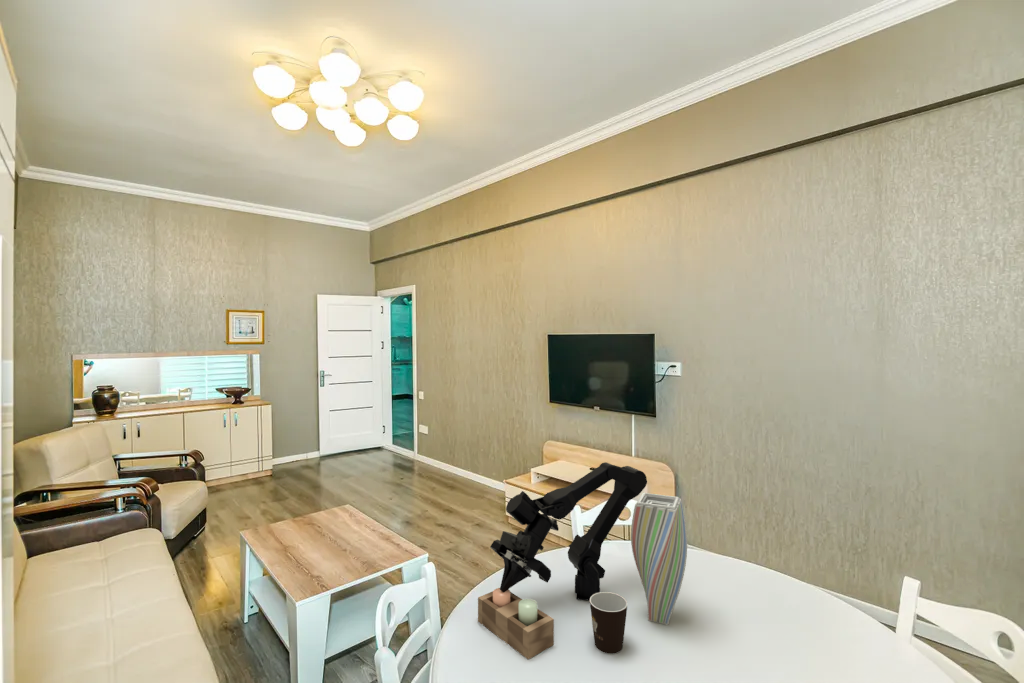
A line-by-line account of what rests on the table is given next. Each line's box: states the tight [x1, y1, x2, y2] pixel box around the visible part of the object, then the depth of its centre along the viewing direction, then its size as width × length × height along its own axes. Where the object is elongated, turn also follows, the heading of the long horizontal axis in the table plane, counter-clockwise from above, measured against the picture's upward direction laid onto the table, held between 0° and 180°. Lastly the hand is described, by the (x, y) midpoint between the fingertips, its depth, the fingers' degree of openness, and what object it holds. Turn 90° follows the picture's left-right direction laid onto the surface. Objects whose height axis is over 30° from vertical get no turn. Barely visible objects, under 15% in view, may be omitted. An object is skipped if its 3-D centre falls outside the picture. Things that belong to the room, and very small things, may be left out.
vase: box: [630, 492, 688, 626], centre depth 120 cm, size 14×14×30 cm
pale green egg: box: [519, 598, 538, 626], centre depth 110 cm, size 4×4×5 cm
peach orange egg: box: [492, 587, 511, 608], centre depth 118 cm, size 4×4×5 cm
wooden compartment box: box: [477, 590, 555, 660], centre depth 114 cm, size 8×19×6 cm, turn 40°
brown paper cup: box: [589, 591, 628, 655], centre depth 111 cm, size 12×9×10 cm
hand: (501, 590), depth 118 cm, fingers closed, pressing on peach orange egg
